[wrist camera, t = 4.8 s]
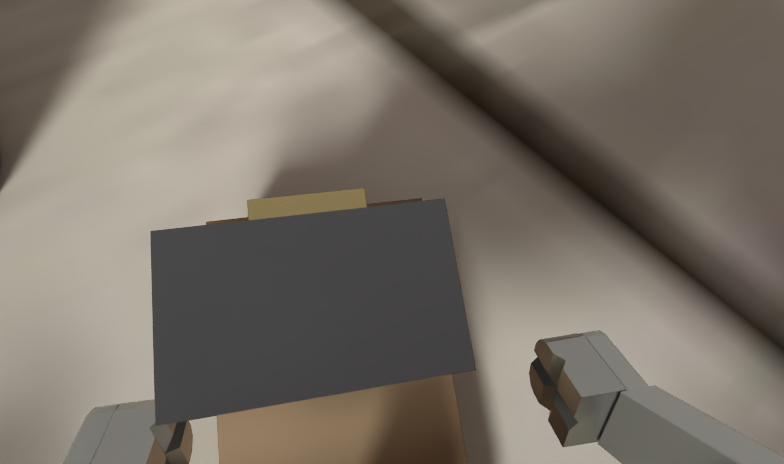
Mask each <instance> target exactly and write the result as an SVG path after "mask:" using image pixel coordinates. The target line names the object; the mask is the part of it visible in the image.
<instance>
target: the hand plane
mask: <svg viewBox="0 0 784 464" xmlns="http://www.w3.org/2000/svg"><path fill="white" fill-rule="evenodd" d="M418 201H422V198H420V199H411V200H402V201H392V202H383V203H374V204H366V205H367V207H373V206H382V205H391V204H400V203H409V202H418ZM247 220H249V218H248V217H247V218H238V219H229V220H220V221H210V222H206V225H211V224H220V223H229V222H238V221H247ZM217 430H218V449H219V464H467V460H466V454H465V448H464V442H463V436H462V430H461V424H460V419H459V413H458V407H457V401H456V395H455V389H454V384H453V378H452V374H450V375H444V376H438V377H433V378H427V379H421V380H416V381H410V382H404V383H399V384H393V385H387V386H382V387H376V388H370V389H364V390H359V391H353V392H347V393H342V394H336V395H330V396H325V397H319V398H313V399H308V400H302V401H296V402H291V403H285V404H279V405H274V406H268V407H262V408H256V409H251V410H245V411H239V412H234V413H228V414H222V415H217Z"/></svg>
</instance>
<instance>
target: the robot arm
mask: <svg viewBox="0 0 784 464" xmlns="http://www.w3.org/2000/svg"><path fill="white" fill-rule="evenodd" d="M534 351H535V353H536V355H537V356H538V357H537V358H536V359H535V360H534V361H533V362H532V363H531V366H530V372H529V375H530V382H531V386H532V389H533V392H534V394H535V396H536V398H537V400H538V402H539V403H540V404H541V405H543V406H544V407H546V408H547V409H548V410H550V412H549V418H548V421H549V423H550V424H551V426H552V428H553V430H554V432H555V434H556V435H557V437H558V439H559V441H560V443H561V445H562V446H563V447H568V446H574V445H580V444H587V443H593V442H598V444H599V445H600V446H601V447H603V448H604V449H605V450H606V451H607V452H609V453H610V454H611V455H612V456H613V457H615V458H616V459H617V460H618V461H620V462H621V463H622V464H784V457H783V456H781V455H779V454H778V453H776V452H774V451H772V450H770V449H769V448H767V447H765V446H763V445H761V444H760V443H758V442H756V441H754V440H752V439H751V438H749V437H747V436H745V435H743V434H741V433H740V432H738V431H736V430H734V429H732V428H731V427H729V426H727V425H725V424H723V423H722V422H720V421H718V420H716V419H714V418H713V417H711V416H709V415H707V414H705V413H704V412H702V411H700V410H698V409H696V408H695V407H693V406H691V405H689V404H687V403H686V402H684V401H682V400H680V399H678V398H676V397H675V396H673V395H671V394H669V393H667V392H666V391H664V390H662V389H660V388H658V387H657V386H650V387H649V386H648V385H647V383H646V382H645V381H644V380H643V379H642V377H641V376H640V375H639V374H638V373H637V371H636V370H635V369H634V368H633V367H632V365H631V364H630V363H629V362H628V361H627V359H626V358H625V357H624V356H623V355H622V353H621V352H620V351H619V350H618V349H617V347H616V346H615V345H614V344H613V343H612V341H611V340H610V339H609V338H608V337H607V335H606V334H605V333H603V332H601V331H600V330H599V331H592V332H586V333H580V334H577V333H576V334H570V335H564V336H558V337H553V338H547V339H541V340H539V341H538V342H537V343H536V346H535V350H534ZM192 439H193V435H192V430H191V425H190V423H189V421H183V422H177V423H171V424H166V425H160V426H155V399H154V400H146V401H138V402H131V403H123V404H116V405H109V406H102V407H95V408H94V409H93V410H92V411H91V412H90V413H89V414H88V415H87V416H86V418H85V420H84V422H83V424H82V426H81V428H80V430H79V432H78V434H77V436H76V438H75V440H74V442H73V444H72V446H71V448H70V450H69V452H68V454H67V456H66V458H65V460H64V462H63V464H189V461H190V457H191V453H192Z"/></svg>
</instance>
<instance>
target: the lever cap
mask: <svg viewBox="0 0 784 464" xmlns="http://www.w3.org/2000/svg"><path fill="white" fill-rule="evenodd" d="M247 205H248V218H249V220H247V221H238V222H229V223H220V224H211V225H202V226H193V227H184V228H175V229H166V230H157V231H151V269H152V309H153V349H154V389H155V426H160V425H166V424H171V423H177V422H183V421H188V420H194V419H200V418H205V417H211V416H217V415H222V414H228V413H234V412H239V411H245V410H251V409H256V408H262V407H268V406H274V405H279V404H285V403H291V402H296V401H302V400H308V399H313V398H319V397H325V396H330V395H336V394H342V393H347V392H353V391H359V390H364V389H370V388H376V387H382V386H387V385H393V384H399V383H404V382H410V381H416V380H421V379H427V378H433V377H438V376H444V375H450V374H455V373H461V372H467V371H472V370H476V368H475V362H474V357H473V351H472V346H471V341H470V335H469V330H468V324H467V319H466V313H465V308H464V302H463V297H462V291H461V286H460V281H459V275H458V270H457V264H456V259H455V253H454V248H453V242H452V237H451V231H450V226H449V221H448V215H447V210H446V204H445V199H436V200H427V201H418V202H409V203H400V204H391V205H382V206H373V207H367V205H366V198H365V191H364V188H359V189H350V190H340V191H330V192H321V193H311V194H301V195H292V196H282V197H273V198H263V199H253V200H247Z"/></svg>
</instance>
